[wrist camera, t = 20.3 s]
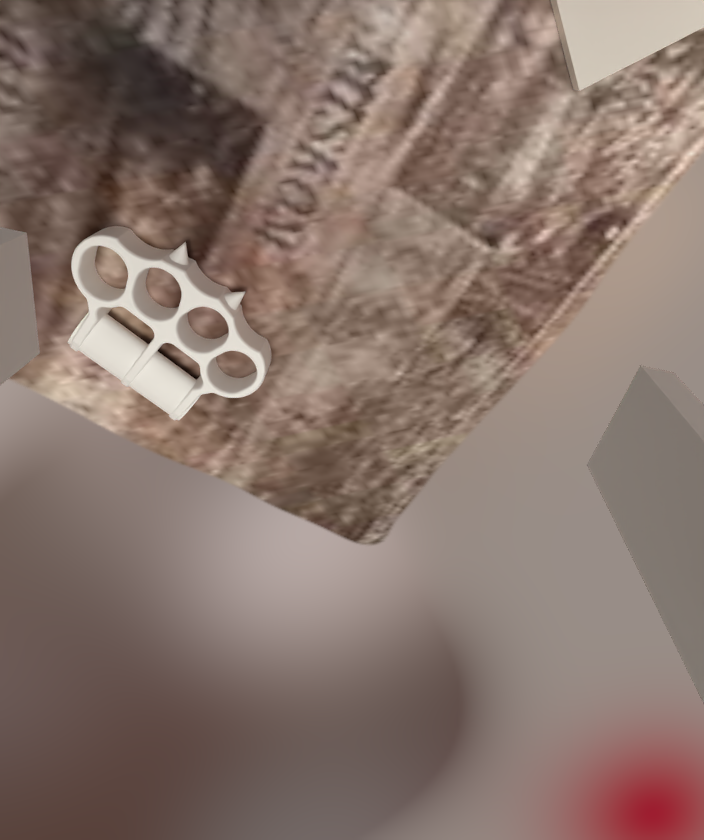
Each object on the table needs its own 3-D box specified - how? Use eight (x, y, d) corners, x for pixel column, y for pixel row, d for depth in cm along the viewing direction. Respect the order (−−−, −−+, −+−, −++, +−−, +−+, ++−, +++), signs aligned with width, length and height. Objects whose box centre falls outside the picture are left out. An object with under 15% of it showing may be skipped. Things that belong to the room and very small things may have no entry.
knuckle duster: (46, 311, 51) (128, 183, 44) (211, 429, 56) (304, 330, 50) (26, 326, 48) (110, 191, 41) (201, 448, 54) (299, 346, 47)
